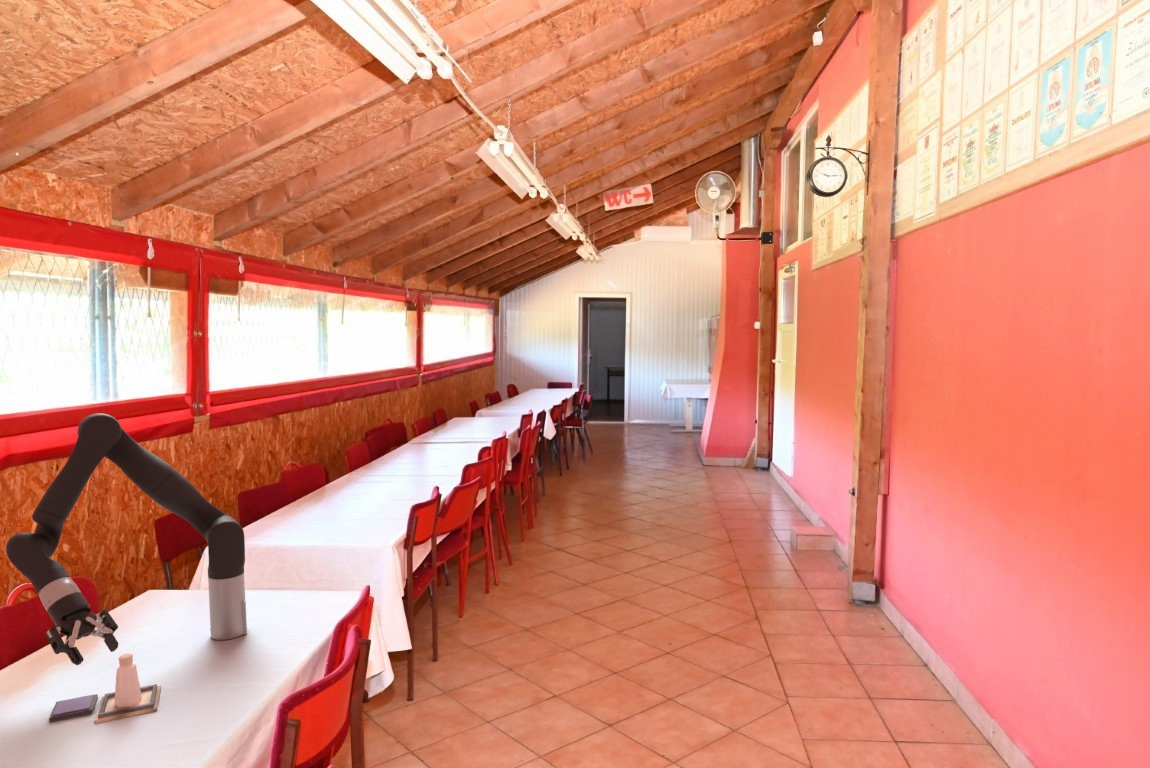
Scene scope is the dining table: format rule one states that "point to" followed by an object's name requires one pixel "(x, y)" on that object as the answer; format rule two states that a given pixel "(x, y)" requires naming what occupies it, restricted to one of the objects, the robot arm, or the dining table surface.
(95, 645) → the dining table surface
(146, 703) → the board
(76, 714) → the ink pad
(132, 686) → the pepper shaker
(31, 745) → the dining table surface
